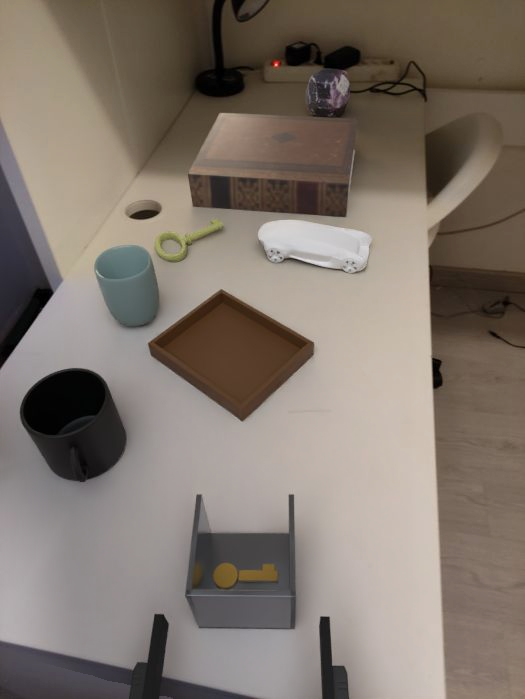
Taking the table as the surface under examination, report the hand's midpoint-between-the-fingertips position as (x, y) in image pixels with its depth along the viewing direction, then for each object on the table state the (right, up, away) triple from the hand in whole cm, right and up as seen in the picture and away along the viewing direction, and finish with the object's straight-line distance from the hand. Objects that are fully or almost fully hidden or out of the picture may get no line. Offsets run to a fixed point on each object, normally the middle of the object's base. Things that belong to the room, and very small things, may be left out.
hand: (242, 619), depth 45 cm
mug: (-19, +10, +19) cm, 28 cm away
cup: (-17, +27, +35) cm, 47 cm away
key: (-11, +40, +46) cm, 62 cm away
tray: (-3, +22, +28) cm, 36 cm away
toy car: (+10, +38, +43) cm, 59 cm away
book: (+5, +56, +60) cm, 82 cm away
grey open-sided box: (0, 0, +8) cm, 8 cm away
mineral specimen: (+16, +76, +78) cm, 110 cm away
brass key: (0, 0, +8) cm, 8 cm away
